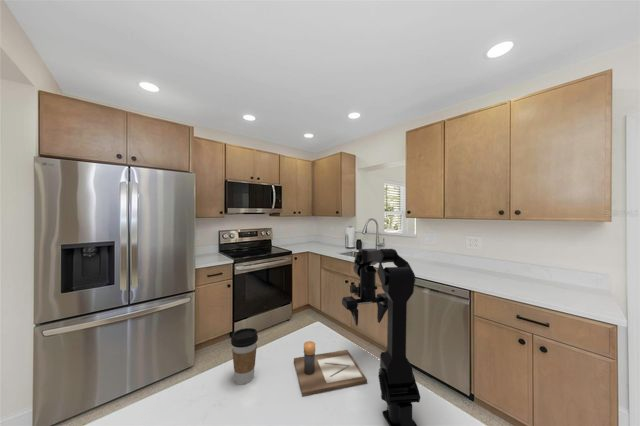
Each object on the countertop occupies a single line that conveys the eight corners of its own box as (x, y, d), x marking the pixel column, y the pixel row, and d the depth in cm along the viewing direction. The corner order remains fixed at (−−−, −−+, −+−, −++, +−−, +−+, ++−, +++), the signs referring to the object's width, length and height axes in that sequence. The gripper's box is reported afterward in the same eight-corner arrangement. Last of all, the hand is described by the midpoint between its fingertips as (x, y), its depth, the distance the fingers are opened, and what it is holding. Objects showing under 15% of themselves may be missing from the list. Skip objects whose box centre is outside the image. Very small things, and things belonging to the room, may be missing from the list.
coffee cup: (249, 389, 71) (250, 340, 71) (225, 385, 73) (225, 337, 73) (262, 371, 79) (262, 327, 79) (239, 368, 81) (239, 325, 81)
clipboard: (367, 383, 74) (367, 378, 74) (302, 396, 68) (302, 391, 68) (347, 352, 90) (347, 349, 90) (293, 361, 85) (293, 357, 85)
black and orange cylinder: (316, 374, 76) (316, 346, 76) (304, 376, 75) (304, 348, 75) (313, 366, 80) (313, 340, 80) (302, 368, 79) (302, 342, 79)
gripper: (379, 275, 97) (379, 312, 97) (337, 278, 92) (337, 317, 92) (394, 282, 86) (394, 324, 86) (347, 286, 81) (347, 331, 81)
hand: (367, 323), depth 86 cm, fingers open, 9 cm apart
